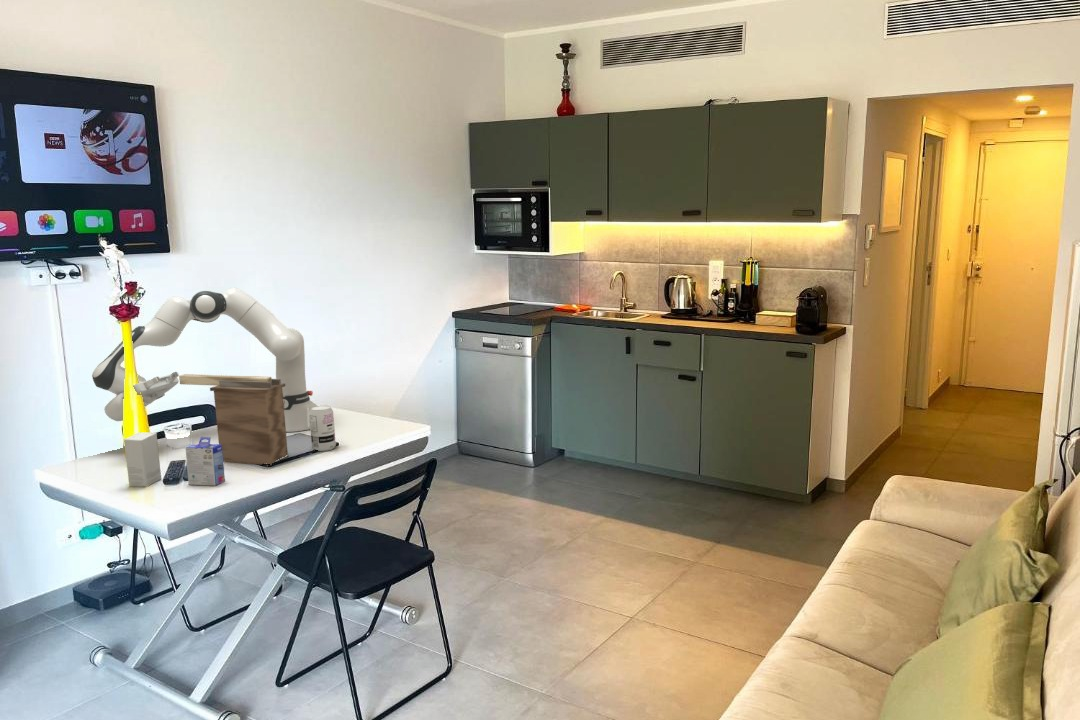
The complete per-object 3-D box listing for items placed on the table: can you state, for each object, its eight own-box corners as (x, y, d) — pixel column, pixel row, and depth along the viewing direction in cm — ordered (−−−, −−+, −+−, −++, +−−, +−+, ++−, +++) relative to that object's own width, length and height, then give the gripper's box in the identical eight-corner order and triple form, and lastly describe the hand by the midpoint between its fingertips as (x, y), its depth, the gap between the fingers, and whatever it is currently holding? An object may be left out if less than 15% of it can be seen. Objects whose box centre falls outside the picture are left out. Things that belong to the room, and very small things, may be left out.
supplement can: (317, 445, 305) (314, 405, 302) (339, 445, 304) (336, 405, 301) (308, 451, 297) (305, 410, 294) (331, 451, 296) (328, 410, 293)
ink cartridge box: (226, 480, 266) (222, 436, 263) (216, 486, 260) (211, 441, 258) (198, 479, 268) (194, 435, 265) (188, 485, 262) (183, 440, 260)
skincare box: (144, 478, 271) (139, 431, 268) (163, 479, 270) (158, 432, 267) (128, 486, 263) (122, 438, 260) (147, 487, 261) (141, 439, 259)
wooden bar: (185, 382, 294) (185, 374, 293) (272, 385, 283) (271, 376, 283) (179, 384, 291) (179, 375, 290) (266, 387, 281) (266, 378, 280)
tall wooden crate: (237, 453, 297) (230, 376, 293) (291, 456, 291) (284, 377, 286) (217, 462, 287) (209, 382, 282) (272, 465, 281) (265, 383, 276)
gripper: (114, 392, 288) (141, 373, 283) (157, 381, 307) (182, 363, 303) (123, 408, 288) (150, 389, 284) (165, 395, 307) (191, 378, 303)
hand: (167, 376), depth 293 cm, fingers open, 8 cm apart
